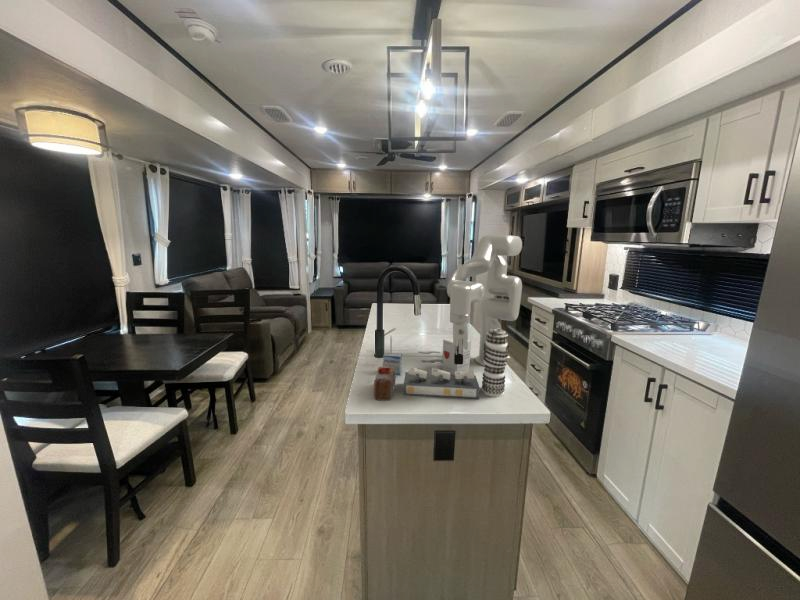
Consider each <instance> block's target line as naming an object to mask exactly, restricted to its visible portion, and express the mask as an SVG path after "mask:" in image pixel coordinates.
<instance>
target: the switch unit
mask: <svg viewBox="0 0 800 600" xmlns="http://www.w3.org/2000/svg"><path fill="white" fill-rule="evenodd" d="M408 372H409V371H405V374H404V379H403V396H411V397H412V396H414V397H427V398H428V397H430V398H431V397H432V398H448V399H450V398H451V399H466V400H467V399H468V400H469V399H470V400H479V399H480V398H479V396H480V385H479V382H478V378H477V376H476V375H475V374H474V378H467V376H464V377H463V379H456V378H455V374H450V380H448V379H445V378H443V375H440V376H439V377H438V376H434V375H432V372H430V373H429V372H427V376H426V379H425V378H422V377H419V374H416V376H415V375H411V374H408Z"/></svg>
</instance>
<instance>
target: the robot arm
mask: <svg viewBox="0 0 800 600" xmlns="http://www.w3.org/2000/svg"><path fill="white" fill-rule="evenodd" d="M522 248H523V241H522V239H521V237H520V236H518V235H509V234H489V235H488V234H486V235H484V236H482V237H481V238H480V240H479V241H478V243H477V246H476V248H475V249H474V253H473V254H472V257H471V259H470V260H468V261H466V262H465V263H463V264H462V265H460V266H458V267H457V268H456V270H454V272H453V273H452V275H451V277H450V279H449V281H448V284H447V288H446V292H447V296H448V297H449V298H450V299H449V301H450V302H449V306H450V307H449V322H450V323H452V337H453V344H454V348H455V353H454V363H455V364H460V365H462V364H463V346H464V349H466V350H467V349H468V340H469V326H468V325H469V324H470V323H471V311H472V309H471V308H472V303H476V302H480V303H479V311H480V335H479V348H478V350H479V352H478V356H476V357H475V362H476V363H477V364H478V365H481V366H485V364H484V357H483V356H484V354H483V353H484V343H485V342H486V336H487V334H486V332H488V331H489V330H490V329H492V328H498V329H502V325H501V323H500V321H499V320H503V321H507V322H508V321H509V322H514V321H516V320H517V319H518V317H519V314H520V308H521V301H522V300H521V299H522V290H523V282H522V279H521V278H520V277H518V276H516V275H507V272H508V263H507V261H506V259H505V258H504V256H505V257H507V256H508V257H513V256H514V257H515V256H518V255H519V254H520V253H521V251H522ZM484 273H487V276H486V283H485V286H484V285H483V283H481V282H477V281H469V280H467V279H468V278H471V277H475V276H477V275H481V274H484ZM486 292H487V294H490V295H492V296H499V297H508V299H506V298H498V297H497V298H496V297H486V298H484V296H485V294H486ZM485 354H486V353H485ZM505 359H507V361H510V360H511V357H510V356H509V355H508V356H507V357H505Z"/></svg>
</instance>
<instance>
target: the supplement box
mask: <svg viewBox="0 0 800 600" xmlns="http://www.w3.org/2000/svg"><path fill="white" fill-rule="evenodd" d="M442 341H443V343H442V345H443V346H442V360H441V361H442V363H441V364H442V366H441V367H442V368H441V370H442V371H446V372H449V373H450V374H455V372H459V371H470V364H471V363H470V362H471V346H472V340H470V339H468V349H467V350H466V349H464V346H463V364H462V365H460V364H455V363H454V353H455V348H454V344H453V336H451V337H445V338H443V340H442Z"/></svg>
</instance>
